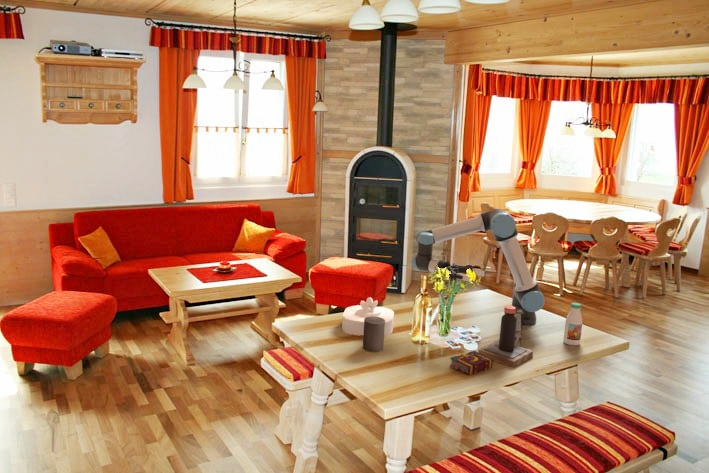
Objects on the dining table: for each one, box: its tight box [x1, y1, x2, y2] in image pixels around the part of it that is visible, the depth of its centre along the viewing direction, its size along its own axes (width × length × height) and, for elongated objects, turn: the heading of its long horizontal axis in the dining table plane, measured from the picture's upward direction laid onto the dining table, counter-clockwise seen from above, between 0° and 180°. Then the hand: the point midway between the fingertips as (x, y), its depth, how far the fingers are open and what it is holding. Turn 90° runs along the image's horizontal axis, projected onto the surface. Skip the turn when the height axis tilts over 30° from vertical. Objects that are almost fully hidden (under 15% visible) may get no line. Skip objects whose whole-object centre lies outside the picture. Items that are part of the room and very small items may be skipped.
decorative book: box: [449, 350, 494, 376], centre depth 269 cm, size 11×16×5 cm
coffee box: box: [514, 308, 524, 347], centre depth 300 cm, size 9×6×16 cm
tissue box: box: [341, 296, 395, 337], centre depth 312 cm, size 25×25×16 cm
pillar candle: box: [362, 316, 385, 353], centre depth 285 cm, size 10×10×15 cm
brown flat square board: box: [477, 339, 534, 368], centre depth 283 cm, size 18×18×3 cm
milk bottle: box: [563, 302, 583, 346], centre depth 302 cm, size 8×8×20 cm
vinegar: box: [498, 305, 517, 352], centre depth 281 cm, size 7×7×20 cm
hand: (476, 276), depth 296 cm, fingers open, 13 cm apart
